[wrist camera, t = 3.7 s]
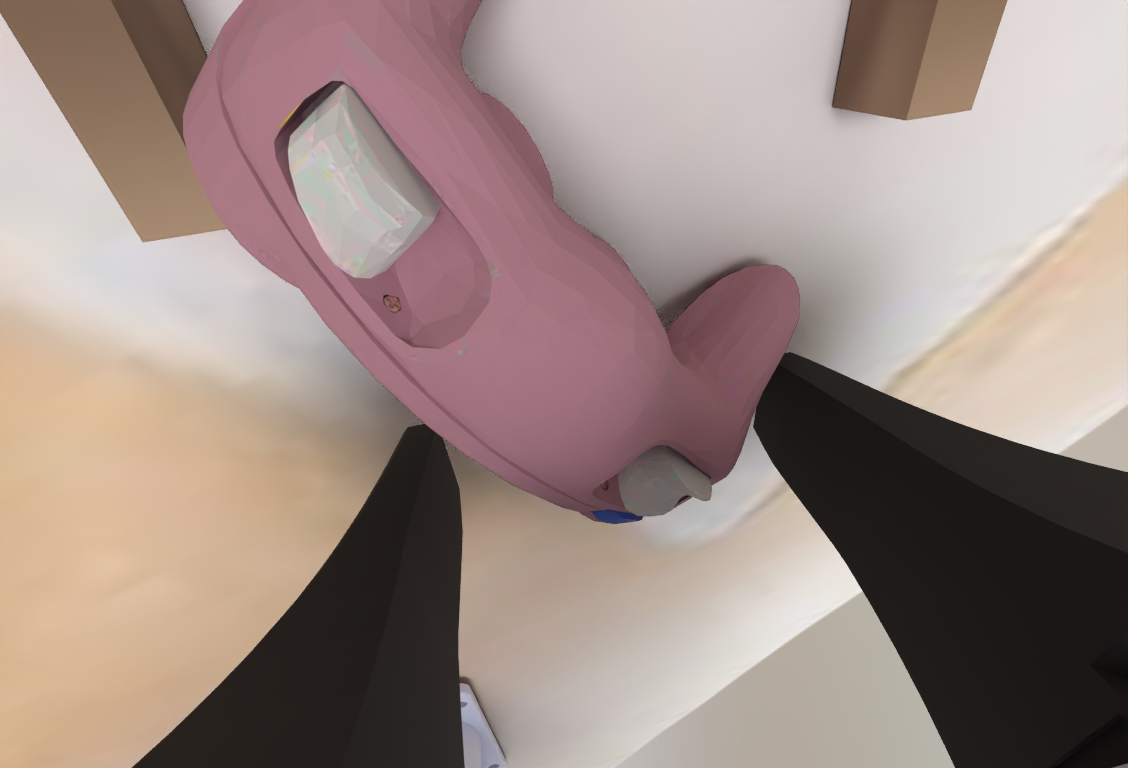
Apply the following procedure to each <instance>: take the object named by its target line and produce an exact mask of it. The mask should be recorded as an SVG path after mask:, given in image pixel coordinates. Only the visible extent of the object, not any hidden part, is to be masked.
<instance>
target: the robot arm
mask: <svg viewBox="0 0 1128 768" xmlns="http://www.w3.org/2000/svg"><path fill="white" fill-rule="evenodd" d="M753 427H754V429H755V431H756V433H757V435H758V437H759V439H760V441H761V443H762V445H763V447H764V448H765V450H766V452H767V454H768V455H769V457H770V459H771V461H772V462H773V464H774V466H775V467H776V468H777V470H778V471H779V473H780V474H781V475H782V477H783V478H784V479H785V481H786V482H787V484H788V485H789V486H790V488H791V489H792V490H793V492H794V493H795V494H796V496H797V497H798V498H799V500H800V501H801V502H802V504H803V505H804V506H805V508H806V509H807V510H808V512H809V513H810V514H811V516H812V517H813V518H814V520H815V521H816V522H817V524H818V525H819V526H820V528H821V529H822V530H823V532H824V533H825V534H826V536H827V537H828V538H829V540H830V541H831V542H832V544H833V545H834V546H835V548H836V549H837V551H838V552H839V554H840V555H841V557H842V558H843V560H844V561H845V562H846V564H847V566H848V567H849V569H850V571H851V572H852V574H853V576H854V577H855V579H856V581H857V582H858V584H859V586H860V587H861V589H862V591H863V592H864V594H865V596H866V597H867V598H868V601H869V602H870V604H871V606H872V607H873V609H874V611H875V613H876V614H877V616H878V618H879V620H880V622H881V623H882V625H883V627H884V629H885V630H886V632H887V634H888V636H889V637H890V639H891V641H892V643H893V645H894V646H895V648H896V650H897V652H898V654H899V656H900V658H901V659H902V661H903V663H904V665H905V667H906V669H907V671H908V673H909V675H910V677H911V679H912V681H913V682H914V684H915V686H916V688H917V690H918V692H919V694H920V696H921V698H922V700H923V701H924V704H925V706H926V708H927V710H928V712H929V714H930V716H931V718H932V720H933V722H934V724H935V726H936V728H937V730H938V733H939V735H940V737H941V739H942V741H943V743H944V745H945V747H946V749H947V751H948V753H949V755H950V758H951V760H952V762H953V764H954V766H955V768H1128V472H1124V471H1120V470H1116V469H1112V468H1107V467H1103V466H1099V465H1095V464H1091V463H1087V462H1084V461H1079V460H1076V459H1072V458H1069V457H1065V456H1061V455H1058V454H1054V453H1050V452H1047V451H1043V450H1039V449H1036V448H1033V447H1029V446H1026V445H1023V444H1019V443H1016V442H1013V441H1010V440H1007V439H1004V438H1001V437H998V436H995V435H991V434H988V433H985V432H982V431H979V430H976V429H973V428H970V427H968V426H965V425H962V424H959V423H956V422H954V421H951V420H948V419H946V418H943V417H941V416H938V415H936V414H933V413H931V412H928V411H925V410H923V409H920V408H918V407H915V406H913V405H910V404H908V403H906V402H903V401H901V400H899V399H896V398H894V397H892V396H889V395H887V394H885V393H882V392H880V391H878V390H876V389H873V388H871V387H869V386H867V385H864V384H862V383H860V382H858V381H855V380H853V379H851V378H849V377H847V376H844V375H842V374H840V373H838V372H836V371H833V370H831V369H829V368H827V367H825V366H822V365H820V364H818V363H816V362H813V361H811V360H809V359H806V358H804V357H801V356H799V355H796V354H793V353H784V355H783V357H782V359H781V360H780V362H779V364H778V366H777V367H776V369H775V371H774V373H773V375H772V376H771V378H770V380H769V382H768V383H767V385H766V387H765V389H764V391H763V392H762V395H761V397H760V399H759V402H758V404H757V407H756V413H755V419H754V426H753ZM462 534H463V530H462V515H461V503H460V491H459V486H458V483H457V480H456V477H455V474H454V471H453V468H452V465H451V462H450V459H449V456H448V453H447V450H446V447H445V444H444V441H443V438H442V437H441V436H440V435H439V434H437V433H436V432H435V431H434V430H432V429H431V428H430V427H428V426H427V425H426V424H422V425H417V426H412V427H408V428H407V429H406V431H405V432H404V434H403V435H402V437H401V439H400V441H399V443H398V445H397V447H396V449H395V451H394V453H393V455H392V456H391V458H390V460H389V462H388V464H387V466H386V467H385V469H384V471H383V473H382V475H381V476H380V478H379V480H378V482H377V483H376V485H375V487H374V488H373V490H372V492H371V493H370V495H369V497H368V499H367V500H366V502H365V504H364V505H363V507H362V509H361V510H360V512H359V513H358V515H357V516H356V518H355V519H354V521H353V523H352V524H351V526H350V527H349V529H348V530H347V532H346V533H345V535H344V536H343V538H342V539H341V541H340V542H339V544H338V545H337V547H336V548H335V549H334V551H333V552H332V554H331V555H330V556H329V558H328V559H327V561H326V562H325V563H324V565H323V566H322V567H321V569H320V570H319V571H318V573H317V574H316V575H315V577H314V578H313V579H312V581H311V582H310V583H309V584H308V586H307V587H306V588H305V590H304V591H303V592H302V593H301V595H300V596H299V597H298V598H297V600H296V601H295V602H294V603H293V604H292V606H291V607H290V608H289V609H288V610H287V611H286V613H285V614H284V615H283V616H282V617H281V618H280V620H279V621H278V622H277V623H276V624H275V625H274V626H273V628H272V629H271V630H270V631H269V632H268V633H267V634H266V635H265V637H264V638H263V639H262V640H261V641H260V642H259V643H258V644H257V646H256V647H255V648H254V649H253V650H252V651H251V652H250V653H249V655H248V656H247V657H246V658H245V659H244V660H243V661H242V662H241V663H240V664H239V665H238V666H237V667H236V668H235V669H234V670H233V671H232V672H231V673H230V674H229V675H228V676H227V677H226V678H225V680H224V681H223V682H222V683H221V684H220V685H219V686H218V687H217V688H216V689H215V690H214V691H213V692H212V693H211V694H210V695H209V696H208V697H207V698H206V699H205V700H204V701H203V702H202V703H201V704H199V705H198V706H197V707H196V708H195V709H194V710H193V711H192V712H191V713H190V714H189V715H188V716H187V717H186V718H185V719H184V720H183V721H182V722H181V723H180V724H179V725H178V726H177V727H176V728H175V729H174V730H173V731H172V732H171V733H169V734H168V735H167V736H166V737H165V738H164V739H163V740H162V741H161V742H160V743H159V744H157V745H156V746H155V747H154V748H153V749H152V750H151V751H150V752H149V753H148V754H146V755H145V756H144V757H143V758H142V759H141V760H140V761H139V762H138V763H136V764H135V765H134V766H133V767H132V768H507V762H506V760H505V758H504V756H503V754H502V752H501V750H500V747H499V745H498V743H497V741H496V739H495V737H494V735H493V733H492V731H491V729H490V727H489V725H488V723H487V721H486V719H485V717H484V715H483V713H482V710H481V708H480V706H479V704H478V702H477V700H476V698H475V696H474V694H473V692H472V690H471V688H470V686H468V685H467V684H465V683H460V680H459V661H458V628H459V605H460V583H461V560H462Z"/></svg>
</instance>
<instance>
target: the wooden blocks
mask: <svg viewBox="0 0 1128 768" xmlns="http://www.w3.org/2000/svg"><path fill="white" fill-rule="evenodd" d="M1006 3H1007V0H852V5H851V10H850V16H849V21H848V27H847V32H846V37H845V43H844V48H843V54H842V59H841V64H840V70H839V75H838V81H837V86H836V91H835V97H834V102H833V107H835V108H840V109H846V110H851V111H857V112H863V113H868V114H874V115H879V116H885V117H890V118H896V119H901V120H912V119H918V118H924V117H931V116H937V115H943V114H949V113H956V112H962V111H968V110H971V109H972V106H973V103H974V100H975V97H976V94H977V91H978V88H979V85H980V82H981V79H982V76H983V73H984V70H985V67H986V64H987V61H988V57H989V54H990V51H991V48H992V45H993V42H994V39H995V36H996V33H997V30H998V27H999V24H1000V21H1001V18H1002V15H1003V12H1004V9H1005V6H1006ZM0 13H1V15H2V17H3V18H4V20H5V21H6V23H7V25H8V26H9V28H10V29H11V31H12V33H13V34H14V36H15V37H16V39H17V41H18V42H19V44H20V46H21V47H22V49H23V50H24V52H25V54H26V55H27V57H28V58H29V60H30V62H31V63H32V65H33V66H34V68H35V70H36V71H37V73H38V75H39V76H40V78H41V79H42V81H43V83H44V84H45V86H46V87H47V89H48V91H49V92H50V94H51V95H52V97H53V99H54V100H55V102H56V103H57V105H58V107H59V108H60V110H61V112H62V113H63V115H64V116H65V118H66V120H67V121H68V123H69V124H70V126H71V128H72V129H73V131H74V132H75V134H76V136H77V137H78V139H79V141H80V142H81V144H82V145H83V147H84V149H85V150H86V152H87V153H88V155H89V157H90V158H91V160H92V161H93V163H94V165H95V166H96V168H97V169H98V171H99V173H100V174H101V176H102V178H103V179H104V181H105V182H106V184H107V186H108V187H109V189H110V190H111V192H112V194H113V195H114V197H115V198H116V200H117V202H118V203H119V205H120V207H121V208H122V210H123V211H124V213H125V215H126V216H127V218H128V219H129V221H130V223H131V224H132V226H133V227H134V229H135V231H136V232H137V234H138V235H139V237H140V239H141V240H142V242H148V241H155V240H161V239H167V238H173V237H180V236H186V235H192V234H198V233H205V232H211V231H217V230H223V229H227V227H226V226H225V225H224V224H223V222H222V221H221V220H220V219H219V217H218V216H217V214H216V212H215V211H214V209H213V207H212V205H211V204H210V202H209V200H208V199H207V197H206V195H205V193H204V191H203V189H202V187H201V185H200V183H199V180H198V178H197V176H196V174H195V172H194V170H193V168H192V166H191V163H190V159H189V155H188V152H187V148H186V144H185V140H184V136H183V113H184V110H185V106H186V103H187V100H188V97H189V94H190V92H191V90H192V88H193V86H194V84H195V82H196V80H197V78H198V76H199V74H200V72H201V70H202V68H203V66H204V64H205V62H206V60H207V57H206V54H205V52H204V50H203V48H202V45H201V43H200V41H199V38H198V36H197V34H196V32H195V29H194V27H193V25H192V23H191V20H190V18H189V16H188V14H187V11H186V9H185V7H184V5H183V2H182V0H0Z"/></svg>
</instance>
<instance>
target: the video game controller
mask: <svg viewBox="0 0 1128 768" xmlns="http://www.w3.org/2000/svg"><path fill="white" fill-rule="evenodd" d="M481 1H482V0H243V2H242V3H241V4H240V6H239V7H238V8H237V9H236V11H235V12H234V13H233V14H232V16H231V17H230V18H229V19H228V21H227V22H226V23H225V24H224V26H223V27H222V29H221V31H220V33H219V35H218V37H217V39H216V41H215V43H214V45H213V48H212V50H211V52H210V54H209V56H208V58H207V60H206V62H205V64H204V66H203V68H202V70H201V72H200V74H199V76H198V78H197V80H196V82H195V84H194V86H193V88H192V90H191V92H190V94H189V97H188V100H187V103H186V106H185V110H184V113H183V136H184V140H185V144H186V148H187V152H188V155H189V159H190V163H191V166H192V168H193V170H194V172H195V174H196V176H197V178H198V180H199V183H200V185H201V187H202V189H203V191H204V193H205V195H206V197H207V199H208V200H209V202H210V204H211V205H212V207H213V209H214V211H215V212H216V214H217V216H218V217H219V219H220V220H221V221H222V222H223V224H224V225H225V226H226V227H227V229H228V230H229V231H230V232H231V234H232V235H233V236H234V237H235V239H236V240H237V241H238V242H239V244H240V245H241V246H242V247H243V248H245V249H246V250H247V251H248V252H249V253H250V254H251V255H252V256H253V257H254V258H255V259H257V260H258V261H259V262H260V263H261V264H262V265H264V266H265V267H266V268H268V269H269V270H271V271H272V272H273V273H275V274H276V275H278V276H279V277H280V278H282V279H283V280H285V281H286V282H288V283H290V284H292V285H294V286H296V287H297V288H299V289H300V290H301V291H302V293H303V294H304V295H305V297H306V298H307V299H308V301H309V302H310V303H311V305H312V306H313V307H314V309H315V310H316V311H317V313H318V314H319V316H320V317H321V318H322V320H323V321H324V322H325V324H326V325H327V326H328V327H329V328H330V329H331V330H332V331H333V333H334V334H335V335H336V336H337V337H338V338H339V339H340V340H341V341H342V342H343V344H344V345H345V346H346V347H347V348H348V349H349V350H350V351H351V352H352V354H353V355H354V356H355V357H356V358H357V359H358V360H359V361H360V362H361V363H362V365H363V366H364V367H365V368H366V369H367V370H368V371H369V372H370V373H371V374H372V376H373V377H374V378H375V379H376V380H377V381H378V382H380V383H381V384H382V385H383V386H384V387H385V388H386V389H387V390H388V391H389V392H391V393H392V394H393V395H394V396H395V397H396V398H397V399H398V400H399V401H400V402H402V403H403V404H404V405H405V406H406V407H407V408H408V409H409V410H410V411H411V412H413V413H414V414H415V415H416V416H417V417H418V418H419V419H420V420H421V421H422V422H424V423H425V424H426V425H427V426H428V427H430V428H431V429H432V430H434V431H435V432H436V433H437V434H439V435H440V436H441V437H443V438H444V439H445V440H446V441H448V442H449V443H450V444H452V445H453V446H454V447H455V448H457V449H458V450H459V451H461V452H462V453H463V454H464V455H466V456H468V457H469V458H471V459H472V460H474V461H475V462H477V463H479V464H480V465H482V466H483V467H485V468H486V469H488V470H489V471H491V472H493V473H494V474H496V475H497V476H499V477H500V478H502V479H504V480H505V481H507V482H508V483H510V484H511V485H513V486H516V487H518V488H520V489H522V490H525V491H527V492H529V493H531V494H533V495H536V496H538V497H540V498H542V499H544V500H547V501H549V502H551V503H553V504H556V505H558V506H560V507H563V508H566V509H570V510H574V511H578V512H579V513H580V514H582V515H584V516H586V517H588V518H590V519H591V520H593V521H598V522H606V523H611V524H618V523H626V522H634V521H639V520H642V518H643V516H657V515H663V514H665V513H667V512H669V511H671V510H672V509H673V508H675V507H677V506H678V505H680V504H682V503H683V502H685V501H687V500H688V499H690V498H692V497H695V498H697V499H700V500H703V501H708V500H710V498H711V492H712V487H711V486H712V485H713V484H715V483H717V482H718V481H720V480H722V479H723V478H725V477H727V475H728V474H729V473H730V471H731V470H732V469H733V467H734V465H735V463H736V461H737V459H738V457H739V455H740V453H741V450H742V447H743V444H744V441H745V438H746V435H747V431H748V428H749V425H750V422H751V419H752V416H753V414H754V411H755V409H756V407H757V404H758V402H759V399H760V397H761V395H762V392H763V391H764V389H765V387H766V385H767V383H768V382H769V380H770V378H771V376H772V375H773V373H774V371H775V369H776V367H777V366H778V364H779V362H780V360H781V359H782V357H783V355H784V353H785V351H786V348H787V346H788V344H789V341H790V339H791V337H792V334H793V332H794V330H795V327H796V325H797V322H798V319H799V306H800V295H799V290H798V286H797V284H796V281H795V278H794V277H793V276H792V275H791V274H790V273H789V272H788V271H787V270H786V269H784V268H782V267H780V266H777V265H759V266H751V267H744V268H743V269H742V270H739V271H737V272H735V273H732V274H730V275H728V276H725V277H724V278H722V279H721V280H719V281H718V282H716V283H715V284H714V285H712V286H711V287H710V288H708V289H707V290H706V291H705V292H703V293H702V294H701V295H700V296H699V297H698V298H697V299H696V300H695V301H694V302H693V303H692V304H691V305H690V306H689V307H688V308H687V309H686V310H685V311H684V312H683V313H682V314H681V315H680V316H679V317H678V318H677V320H676V321H675V322H674V323H673V324H672V325H671V327H670V328H669V329H668V330H667V331H665V329H664V327H663V325H662V323H661V321H660V319H659V317H658V315H657V313H656V311H655V309H654V306H653V304H652V302H651V300H650V298H649V296H648V294H647V293H646V292H645V290H644V289H643V288H642V286H641V285H640V284H639V282H638V281H637V280H636V279H635V277H634V276H633V275H632V273H631V271H630V269H629V268H628V266H627V264H626V263H625V262H624V260H623V259H622V258H621V257H620V255H619V254H618V253H617V252H616V250H615V249H613V248H612V247H611V246H610V245H608V244H607V243H606V242H604V241H603V240H600V239H597V238H595V237H594V236H592V235H591V234H590V233H589V232H588V231H586V230H585V229H584V228H583V227H582V226H581V225H579V224H578V223H577V222H576V221H575V220H573V219H572V218H571V217H570V216H569V215H567V214H566V213H565V212H564V211H563V210H561V209H560V208H559V207H558V206H557V204H556V203H555V202H554V201H553V200H554V196H553V187H552V183H551V179H550V175H549V173H548V171H547V168H546V166H545V164H544V161H543V159H542V156H541V154H540V152H539V150H538V149H537V147H536V145H535V144H534V142H533V140H532V139H531V137H530V136H529V134H528V132H527V131H526V129H525V128H524V126H523V125H522V124H521V123H520V122H519V121H518V119H517V118H516V117H515V116H514V115H513V113H512V112H511V111H510V110H509V109H508V108H507V107H505V106H504V105H503V104H501V103H500V102H498V101H497V100H496V99H494V98H493V97H491V96H490V95H486V94H482V93H478V91H477V90H476V88H475V86H474V85H473V83H472V82H471V80H470V79H469V77H468V76H467V74H466V73H465V71H464V70H463V68H462V62H461V48H462V45H463V41H464V38H465V34H466V31H467V29H468V27H469V25H470V23H471V21H472V19H473V17H474V15H475V13H476V11H477V9H478V7H479V5H480V3H481Z"/></svg>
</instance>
